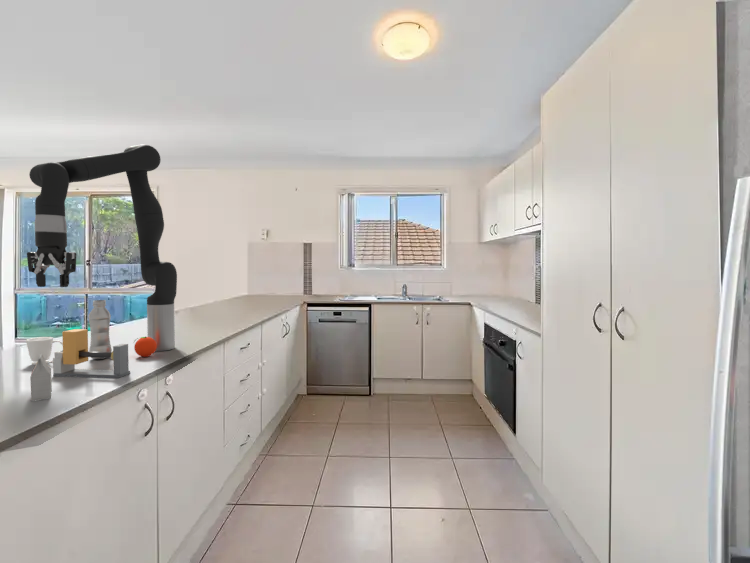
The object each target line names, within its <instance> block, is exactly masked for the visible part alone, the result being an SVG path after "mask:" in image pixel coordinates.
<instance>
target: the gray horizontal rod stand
mask: <svg viewBox="0 0 750 563" xmlns="http://www.w3.org/2000/svg"><path fill="white" fill-rule="evenodd" d="M53 353H54V357H53V358H52V360H53V362H52V369H53V370H52V374H53V377H72V376H77V377H79V378H81V377H82V378H103V377H106V379H107V378H109V379H120V378H122V377H125V376H128V375H129V374H131V370H130V369H129V344H128V343H120V344H117V345H113V346H112V352H89V351H88V352H84V351H79V357H88V358H91V357H100V358H104V359H111V360H112V361H113V364H112V365H113V369H89V368H87V369H86V368H85V369H84V368H76V367H75V366H76V365H75V364H63V349H62V350H60V351H54V352H53Z"/></svg>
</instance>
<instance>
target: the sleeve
mask: <svg viewBox="0 0 750 563" xmlns="http://www.w3.org/2000/svg"><path fill="white" fill-rule="evenodd" d="M61 333H62V343H63V346H62V350H63V364H75V366H77V365H80V364H82V363H85V362H88V361H89V357H79V351H84V352H89V336H88V333H89V332H88V329H87V328H86V329H85V328H84V329H83V328H82V329H81V328H74V329H70V330H64V331H62V332H61Z"/></svg>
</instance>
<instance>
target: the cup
mask: <svg viewBox="0 0 750 563" xmlns="http://www.w3.org/2000/svg"><path fill="white" fill-rule="evenodd" d="M25 343H26V348H27V351H28V355H29V357H30V358H29V359H31V360H30V361H32V363H31V365H33V366H35V365H36V363H37V362H38V359H39V356H40V354H42V355H43V358H44V359H45V361H46V362H47V364H48V362H50V363H53V359H52V360H50V358H51V355H52V348H53V343H59V344H60V345H62V347H63V341H61V340H58V339H57V340H55V339H54V337H52V336H38V337H31V338H27V339H26V340H25ZM49 360H50V361H49Z"/></svg>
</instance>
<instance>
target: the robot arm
mask: <svg viewBox="0 0 750 563" xmlns="http://www.w3.org/2000/svg"><path fill="white" fill-rule="evenodd" d="M160 165H161V155H160V153H159V151H158V149H156V148H155V147H154V146H152V145H148V144H137V145H131V146H128V147H126V148H125V149H124V150H123V152H122V151H121V152H117V153H109V154H99V155H89V156H83V157H78V158H71V159H68V160H64V161H57V162H53V161H51V162H46V163H45V162H44V163H38V164H37V165H34V166H32V168H30V171H29V179H30V181H31V182H32V183H33V184H34V185H35V186H38V187H39V188H40V194H39V195H37V196H36V197H35V201H34V202H35V203H34V206H35V208H34V209H35V219H34V238H35V239H34V243H35V245H34V246H35V247H37V250H36V251H27V253H26V258H27V268H28V272H29V273H34V275H35V284H36V286H37V287H38V288H39V287H40V288H42V287H46V282H47V281H46V278H47V277H46V271H47V269H48V268H50V266H54V268H55V269H57V271H58V273H59V286H60V288H67V287H69V285H70V274H71V273H75V272H76V271H77V252H76V251H75V252H71V251H69V252H68V251H67V250H66V249H67V247H68V232H67V228H68V226H67V219H66V204H65V203H66V199H67V195H68V192H69V191H68V189H69V185H70V184H71V183H79V182H80V183H81V182H87V181H92V180H96V179H100V178H104V177H109V176H113V175H116V174H121V173H125V174H126V177H127V181H128V184H129V189H130V195H131V200H132V206H133V214H134V219H135V220H134V221H135V226H136V231H137V237H138V239H137V240H138V245H139V255H140V258H139V259H140V272H141V277H142V281H144V283H145V284H146V285H148V286H152V287H153V286H154V287H155V289H154V291H153V292H154V293H152V294H150V295H149V296H147V298H146V315H147V316H146V323H147V327H146V328H147V329H146V330H147V331H146V332H147V333H146V334H147V337H150V338H152V339H154V340H155V342H156V344H157V349H156V351H155V352H161V351H163V352H164V351H170V350H173V349H175V348H176V338H175V337H176V335H175V334H176V332H175V331H176V330H175V326H176V325H175V299H176V297H177V289H178V288H177V287H178V286H177V284H178V274H177V273H178V272H177V269H176V267H175V265H174V264H173V263H172V262H170V261H161V260H160V257H159V256H160V254H159V245H160V241H161V238H162V236H163V233H164V229H165V220H164V213H163V209H162V206H161V204H160V202H159V200H158V198H157V197H156V196H155V194H154V192H153V191H152V189H151V186H150V181H149V177H148V172H152V171H154V170H156V169H157V168H158V167H159V166H160Z"/></svg>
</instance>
